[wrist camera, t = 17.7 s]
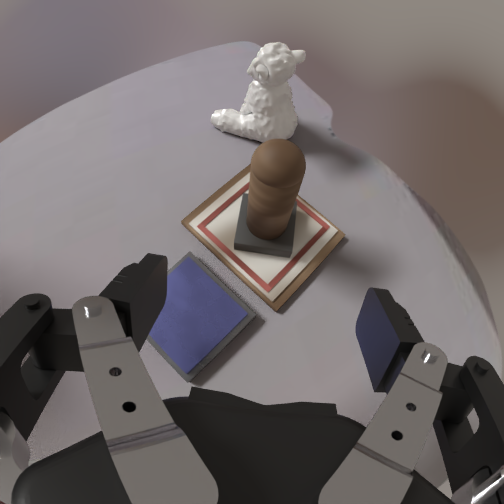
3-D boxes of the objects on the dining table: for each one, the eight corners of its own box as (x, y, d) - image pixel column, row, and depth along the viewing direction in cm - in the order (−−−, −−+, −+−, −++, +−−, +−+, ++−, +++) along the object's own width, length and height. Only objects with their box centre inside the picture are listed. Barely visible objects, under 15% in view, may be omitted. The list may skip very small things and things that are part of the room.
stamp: (233, 249, 28) (233, 173, 18) (242, 201, 30) (247, 115, 19) (289, 258, 28) (320, 187, 18) (294, 209, 30) (322, 127, 19)
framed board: (182, 224, 30) (180, 219, 29) (253, 164, 33) (254, 159, 32) (275, 312, 27) (277, 310, 26) (343, 237, 30) (346, 233, 29)
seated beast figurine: (264, 92, 37) (273, 14, 26) (315, 128, 35) (339, 47, 24) (208, 125, 35) (202, 39, 23) (259, 167, 33) (271, 77, 21)
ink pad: (127, 315, 26) (121, 311, 25) (191, 255, 28) (189, 248, 27) (189, 382, 24) (186, 382, 23) (255, 316, 27) (256, 313, 25)
